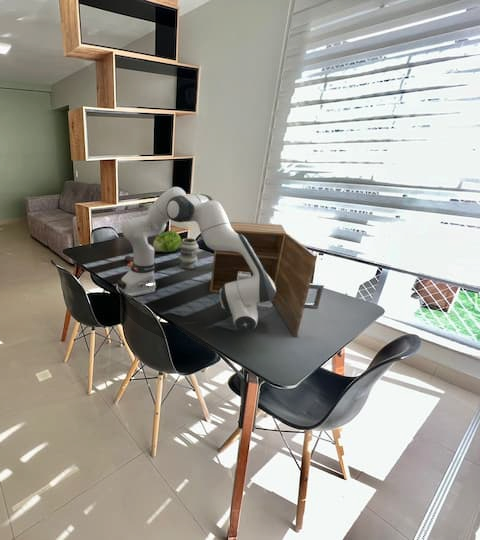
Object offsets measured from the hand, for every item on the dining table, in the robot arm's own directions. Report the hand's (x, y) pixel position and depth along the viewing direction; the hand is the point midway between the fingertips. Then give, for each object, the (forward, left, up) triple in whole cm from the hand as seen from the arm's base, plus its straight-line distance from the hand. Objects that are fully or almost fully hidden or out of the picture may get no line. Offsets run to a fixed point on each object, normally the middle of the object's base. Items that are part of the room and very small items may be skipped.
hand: (244, 290), depth 128 cm
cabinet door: (+14, -15, -11) cm, 23 cm away
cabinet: (+21, +16, -11) cm, 28 cm away
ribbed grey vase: (+21, +55, -11) cm, 60 cm away
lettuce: (+30, +87, -11) cm, 93 cm away
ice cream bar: (-5, +82, -11) cm, 83 cm away
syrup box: (+10, +7, -11) cm, 17 cm away
